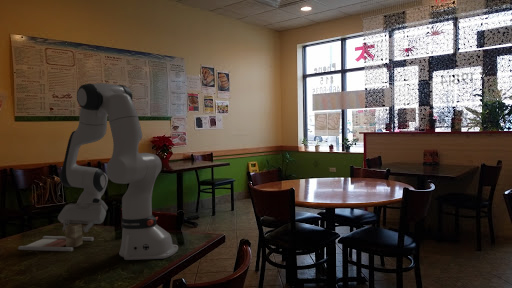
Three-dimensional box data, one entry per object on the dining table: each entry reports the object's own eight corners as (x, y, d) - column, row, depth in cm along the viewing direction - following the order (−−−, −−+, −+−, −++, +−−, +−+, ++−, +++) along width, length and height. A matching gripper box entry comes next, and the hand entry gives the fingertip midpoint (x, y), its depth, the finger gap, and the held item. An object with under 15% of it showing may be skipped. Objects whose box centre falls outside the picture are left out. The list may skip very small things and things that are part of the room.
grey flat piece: (93, 239, 160) (93, 237, 160) (71, 251, 145) (71, 248, 145) (44, 238, 164) (44, 236, 164) (18, 249, 149) (18, 246, 149)
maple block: (82, 243, 155) (81, 224, 155) (75, 247, 151) (75, 226, 150) (73, 243, 156) (72, 223, 156) (66, 246, 151) (65, 226, 151)
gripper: (63, 199, 162) (48, 226, 153) (105, 200, 159) (92, 227, 150) (70, 207, 167) (56, 234, 157) (111, 207, 164) (99, 235, 154)
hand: (74, 231), depth 154 cm, fingers open, 8 cm apart
